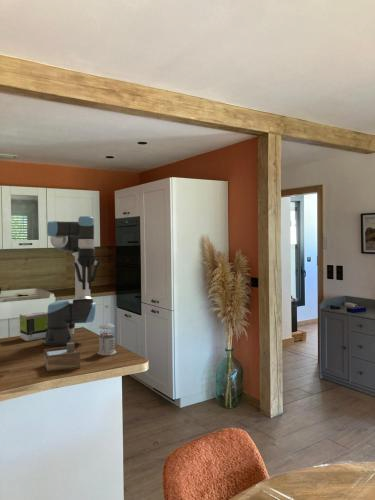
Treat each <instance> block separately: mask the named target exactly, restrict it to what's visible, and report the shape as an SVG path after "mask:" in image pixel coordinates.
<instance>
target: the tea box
mask: <svg viewBox="0 0 375 500" xmlns="http://www.w3.org/2000/svg"><path fill="white" fill-rule="evenodd" d="M47 312H48V311H44V310H41V311H36V312H35V311H34V312H28V313H27V312H26V313H21V314H19V337H20V339H21V338H22V340H24V341H26V342H28V341H29V342H30V341H35V340H40V339H45V337H46V334H47V330H48V313H47Z"/></svg>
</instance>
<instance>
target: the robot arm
mask: <svg viewBox="0 0 375 500" xmlns="http://www.w3.org/2000/svg"><path fill="white" fill-rule="evenodd" d="M46 228H47V229H46V230H47V231H46V235H47V236H48V237H50V238H49V239H50V244H51V245H52V246H53V247H54V248H55V249H57V250H59V251H62V252H71V255H72V256H73V257H74V261H73V262H72V266H74V279H75V280H74V285H75V286H74V289H75V291H74V295H75V297H74V298H73V299H72V302H70V301H69V300H60V301H54V302H51V303H49V304H48V305H47V311H46V312H47V313H48V330H47V334H46V337H45V338H44V345H46V346H53V347H54V346H55V347H56V346H59V347H60V346H67V343H70V342H73V336H72V335H71V333H70V330H69V324H73V323H75V324H87V323H92V322H94V320H95V316H96V307H97V306H96V305H97V302H95V301H94V299H93V297H92V296H91V288H92V285H91V284H92V282H95V279H96V276H97V272H98V267H99V265H100V262H99V261H97V260H96V258H95V250H96V249H95V219H94V217H93V216H89V215H88V216H86V215H85V216H84V215H83V216H82V215H81V216H79V217H78V221H60V220H58V221H55V220H53V221H48V222H47V224H46ZM92 266H93V270H92Z"/></svg>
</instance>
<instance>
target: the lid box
mask: <svg viewBox="0 0 375 500" xmlns="http://www.w3.org/2000/svg"><path fill="white" fill-rule="evenodd" d="M66 349H67V346H62V347H60V346H59V347H52V348H44V349H43V366H44V368H45V370H46V371H47V373H49V372H50V373H54V372H55V371H57V372H63V371H62V370H64V371H70V370H75V369H81V351H75V352H73V353H65V354H57V355H49V356H47V352H49V351H57V350H66ZM55 373H56V372H55Z"/></svg>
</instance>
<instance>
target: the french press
mask: <svg viewBox="0 0 375 500" xmlns="http://www.w3.org/2000/svg"><path fill="white" fill-rule="evenodd" d="M104 307H105V308H110V307H109V305H108V304H106V305H105V306H104ZM115 327H116V326H115V325H114V324H113V323H108V322H106V323H102V324H100V325H99V327H98V328H99V329H101V331H100V332H99V337H98V339H99V341H98V343H99V350H98V351H97V355H101V356H110V355H115V354H116V353H117V351H116V350H115V334H114V332H108V331H105V330H110V329H113V328H115ZM102 329H103V330H102Z"/></svg>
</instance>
